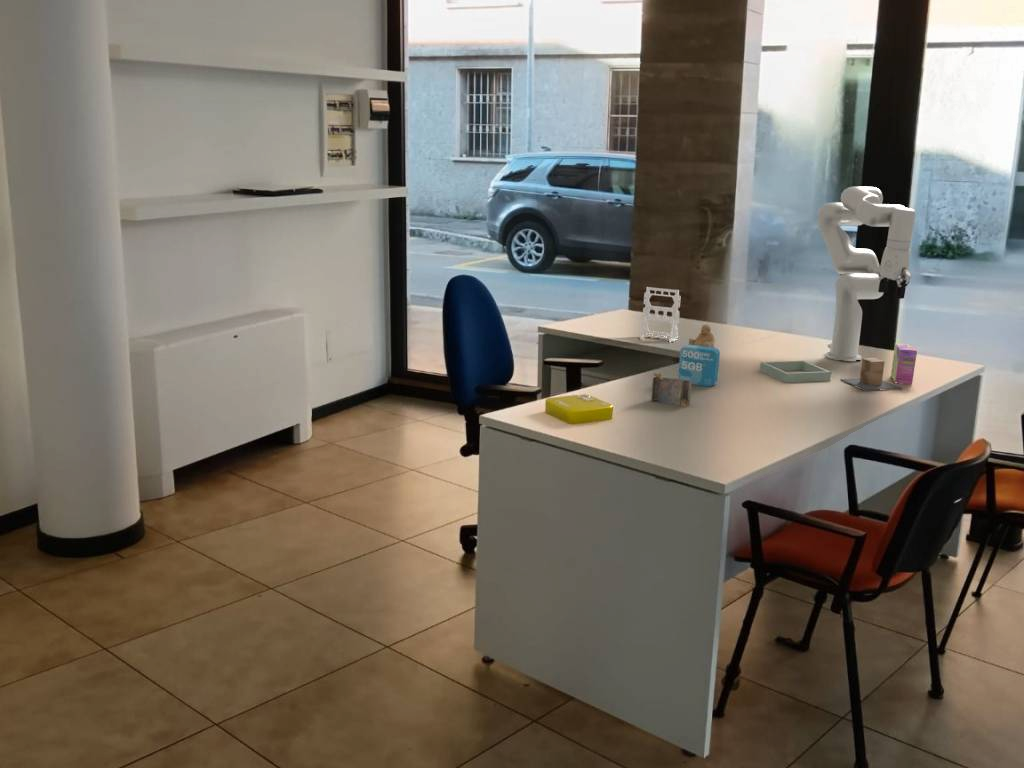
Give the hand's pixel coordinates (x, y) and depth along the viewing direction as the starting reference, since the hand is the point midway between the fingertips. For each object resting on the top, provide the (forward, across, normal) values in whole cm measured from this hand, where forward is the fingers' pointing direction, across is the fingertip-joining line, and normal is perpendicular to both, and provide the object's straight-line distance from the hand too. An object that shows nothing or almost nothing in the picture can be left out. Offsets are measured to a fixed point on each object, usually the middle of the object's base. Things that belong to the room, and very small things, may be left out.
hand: (890, 295), depth 358 cm
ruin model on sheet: (+27, +27, -89) cm, 97 cm away
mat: (+27, +14, -12) cm, 33 cm away
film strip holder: (+31, -65, -55) cm, 90 cm away
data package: (+28, +5, -71) cm, 76 cm away
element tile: (+27, +36, -122) cm, 130 cm away
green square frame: (+28, -2, -32) cm, 42 cm away
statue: (+30, -29, -54) cm, 68 cm away
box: (+28, +9, +3) cm, 29 cm away
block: (+27, +14, -12) cm, 32 cm away
